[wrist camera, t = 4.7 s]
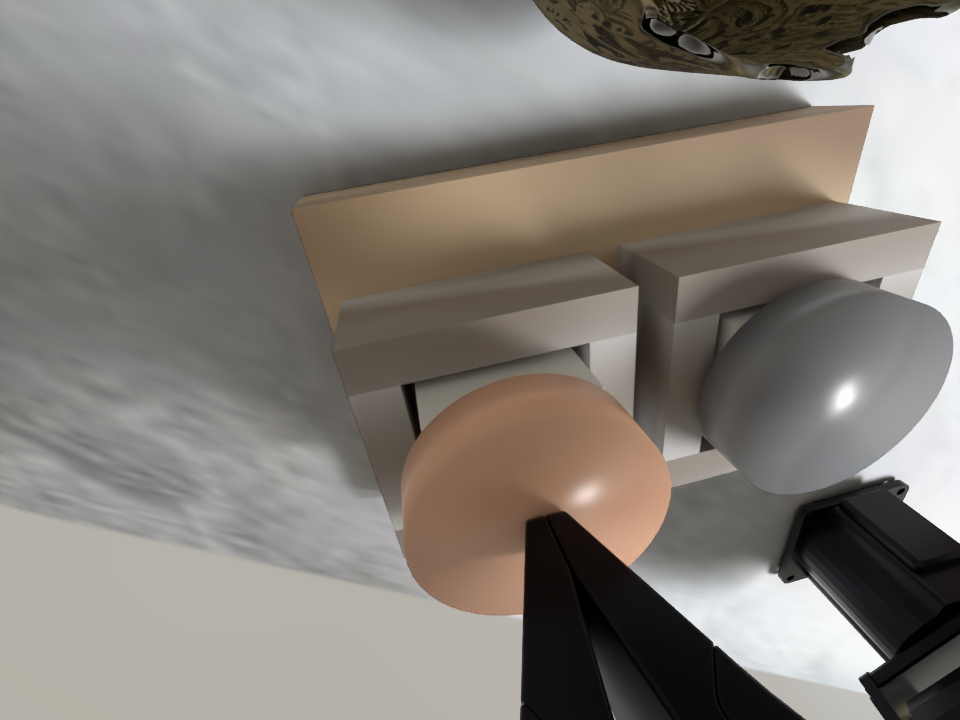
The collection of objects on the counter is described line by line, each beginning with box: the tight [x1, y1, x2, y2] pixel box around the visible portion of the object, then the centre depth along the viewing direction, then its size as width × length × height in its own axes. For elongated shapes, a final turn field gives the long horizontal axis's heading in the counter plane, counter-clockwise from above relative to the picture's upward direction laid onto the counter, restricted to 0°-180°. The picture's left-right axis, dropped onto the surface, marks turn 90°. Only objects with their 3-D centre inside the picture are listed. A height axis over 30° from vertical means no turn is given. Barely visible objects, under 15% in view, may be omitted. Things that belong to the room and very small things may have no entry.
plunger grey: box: [699, 279, 953, 495], centre depth 13 cm, size 6×6×4 cm
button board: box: [291, 105, 941, 558], centre depth 14 cm, size 12×16×5 cm
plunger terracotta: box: [401, 347, 671, 615], centre depth 11 cm, size 6×6×4 cm
